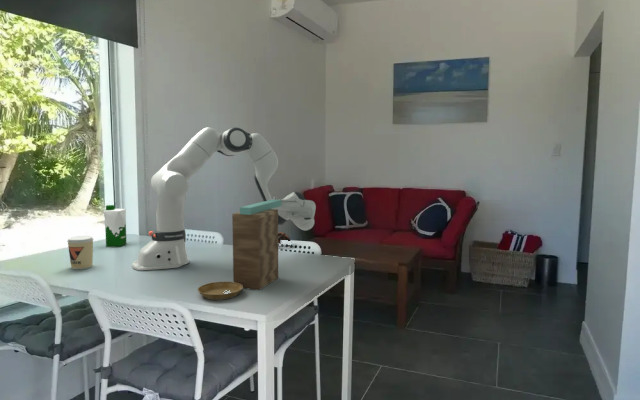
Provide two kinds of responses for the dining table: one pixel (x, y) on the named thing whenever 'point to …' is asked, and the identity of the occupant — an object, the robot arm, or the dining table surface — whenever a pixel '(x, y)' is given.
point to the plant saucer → (220, 290)
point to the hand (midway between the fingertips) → (285, 198)
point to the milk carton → (115, 226)
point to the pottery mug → (282, 237)
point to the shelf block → (255, 248)
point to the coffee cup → (81, 252)
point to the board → (259, 207)
